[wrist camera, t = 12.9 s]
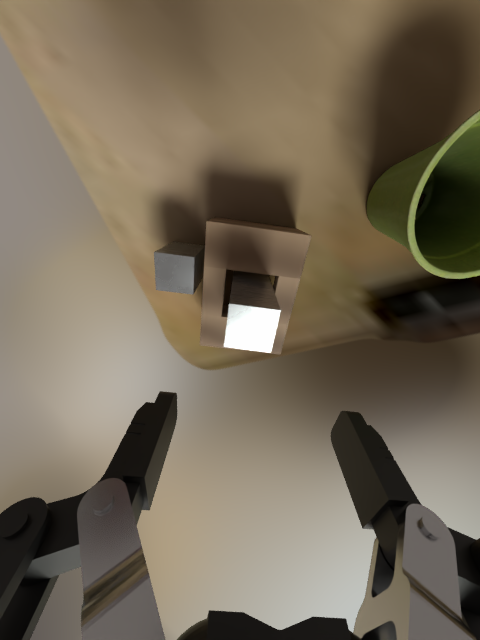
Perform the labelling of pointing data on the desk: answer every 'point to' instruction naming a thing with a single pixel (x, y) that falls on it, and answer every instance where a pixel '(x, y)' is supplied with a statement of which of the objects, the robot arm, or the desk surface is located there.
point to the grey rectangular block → (179, 267)
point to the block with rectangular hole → (249, 270)
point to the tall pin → (252, 312)
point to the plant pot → (435, 203)
